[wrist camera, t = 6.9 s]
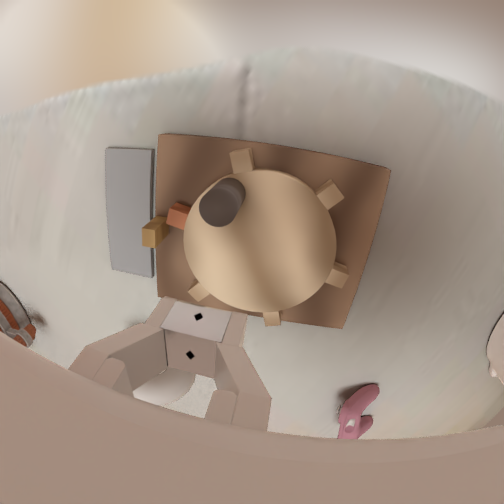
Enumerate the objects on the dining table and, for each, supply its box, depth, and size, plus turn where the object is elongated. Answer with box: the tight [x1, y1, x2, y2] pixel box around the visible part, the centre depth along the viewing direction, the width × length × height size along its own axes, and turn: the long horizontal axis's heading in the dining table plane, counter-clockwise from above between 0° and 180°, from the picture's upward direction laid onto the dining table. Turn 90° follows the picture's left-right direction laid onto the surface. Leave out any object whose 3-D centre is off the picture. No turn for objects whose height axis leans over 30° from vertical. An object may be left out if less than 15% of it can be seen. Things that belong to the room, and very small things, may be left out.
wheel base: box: [142, 133, 391, 329], centre depth 24 cm, size 19×16×4 cm
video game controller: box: [337, 384, 379, 439], centre depth 33 cm, size 10×5×7 cm, turn 11°
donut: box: [133, 367, 196, 406], centre depth 29 cm, size 10×4×10 cm, turn 84°
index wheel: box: [166, 148, 349, 326], centre depth 22 cm, size 15×15×6 cm
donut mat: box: [105, 148, 154, 278], centre depth 27 cm, size 5×13×1 cm, turn 173°
